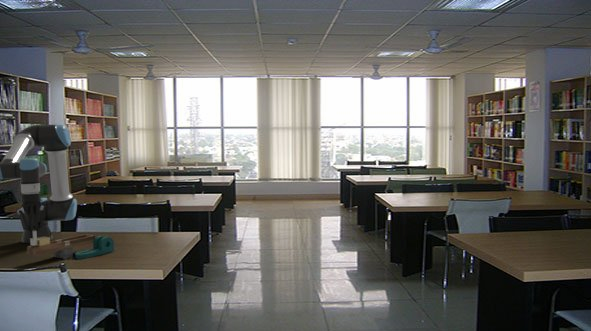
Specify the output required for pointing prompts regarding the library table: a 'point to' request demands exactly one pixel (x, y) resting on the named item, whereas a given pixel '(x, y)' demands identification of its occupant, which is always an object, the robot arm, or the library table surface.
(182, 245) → the library table surface
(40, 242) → the block
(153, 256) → the library table surface
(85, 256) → the bracket
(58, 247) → the brown long open piece
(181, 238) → the library table surface
